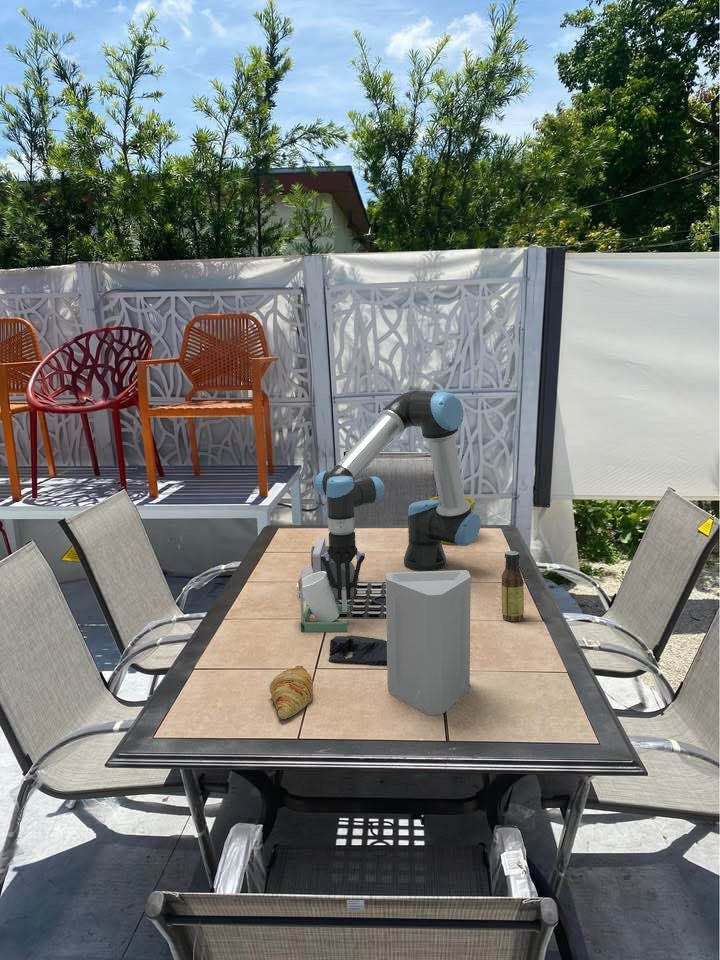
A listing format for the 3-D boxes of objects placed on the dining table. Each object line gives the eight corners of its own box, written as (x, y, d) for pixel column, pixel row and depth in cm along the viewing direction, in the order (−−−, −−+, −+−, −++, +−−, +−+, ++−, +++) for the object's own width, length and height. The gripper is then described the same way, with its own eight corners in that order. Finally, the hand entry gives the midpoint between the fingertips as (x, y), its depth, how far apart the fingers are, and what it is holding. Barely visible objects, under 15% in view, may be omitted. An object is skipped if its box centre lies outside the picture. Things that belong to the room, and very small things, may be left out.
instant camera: (307, 575, 244) (305, 534, 241) (365, 578, 240) (364, 536, 237) (289, 598, 224) (287, 553, 221) (353, 602, 220) (351, 556, 216)
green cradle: (349, 612, 211) (348, 559, 208) (346, 637, 194) (344, 580, 191) (306, 612, 212) (304, 560, 209) (299, 637, 195) (296, 581, 191)
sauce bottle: (527, 617, 204) (529, 552, 200) (516, 624, 200) (518, 557, 196) (508, 612, 209) (509, 548, 204) (496, 618, 204) (497, 553, 200)
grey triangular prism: (391, 716, 154) (389, 596, 148) (387, 683, 169) (385, 572, 163) (478, 713, 155) (479, 593, 149) (466, 680, 169) (467, 570, 163)
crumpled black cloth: (407, 673, 174) (406, 655, 173) (323, 663, 180) (322, 646, 179) (419, 646, 189) (419, 630, 188) (341, 638, 195) (340, 622, 194)
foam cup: (343, 619, 199) (325, 579, 197) (313, 631, 200) (295, 591, 197) (344, 606, 208) (327, 567, 206) (315, 617, 209) (298, 579, 207)
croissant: (297, 738, 153) (313, 709, 151) (255, 718, 153) (271, 689, 151) (311, 687, 174) (325, 661, 172) (274, 669, 173) (288, 643, 171)
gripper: (317, 535, 195) (321, 615, 200) (364, 534, 195) (366, 614, 199) (320, 528, 203) (323, 605, 207) (364, 527, 202) (367, 604, 207)
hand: (344, 610), depth 203 cm, fingers closed
